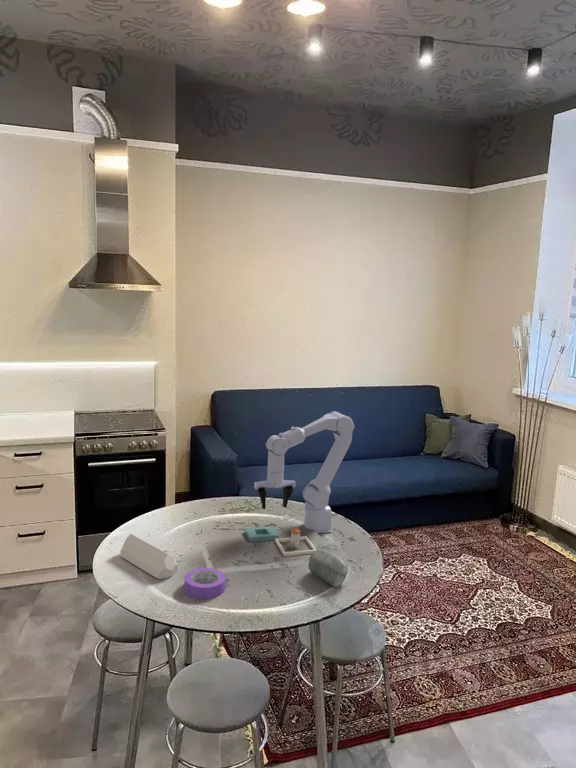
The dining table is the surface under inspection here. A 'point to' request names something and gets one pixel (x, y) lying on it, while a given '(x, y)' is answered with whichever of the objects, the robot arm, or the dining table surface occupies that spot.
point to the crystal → (148, 558)
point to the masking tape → (204, 590)
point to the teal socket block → (261, 533)
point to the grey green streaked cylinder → (328, 567)
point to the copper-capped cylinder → (295, 538)
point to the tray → (295, 551)
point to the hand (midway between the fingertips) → (274, 507)
